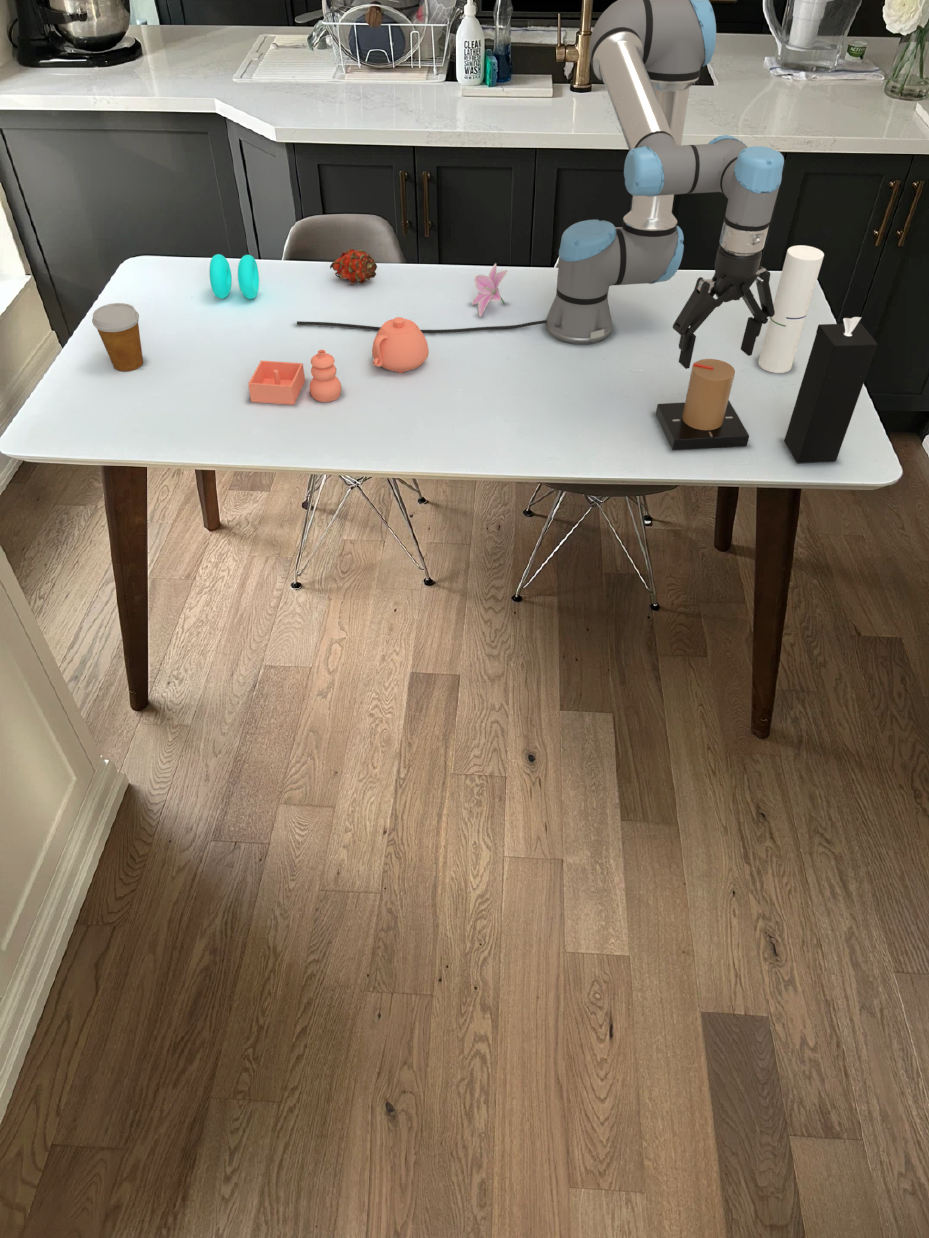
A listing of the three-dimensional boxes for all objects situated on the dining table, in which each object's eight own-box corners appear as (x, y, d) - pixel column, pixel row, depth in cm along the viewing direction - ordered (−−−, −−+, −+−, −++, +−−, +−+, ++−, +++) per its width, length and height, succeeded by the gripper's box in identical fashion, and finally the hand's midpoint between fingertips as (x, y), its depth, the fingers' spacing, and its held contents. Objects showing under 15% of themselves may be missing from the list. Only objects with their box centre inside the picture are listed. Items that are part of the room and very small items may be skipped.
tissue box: (783, 440, 182) (823, 307, 162) (821, 439, 182) (866, 305, 163) (796, 464, 176) (840, 328, 156) (836, 462, 177) (884, 326, 157)
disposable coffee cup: (159, 359, 202) (146, 307, 194) (131, 379, 196) (116, 327, 187) (125, 349, 205) (111, 298, 196) (96, 369, 199) (80, 317, 190)
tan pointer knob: (726, 413, 184) (739, 362, 176) (717, 434, 179) (730, 382, 171) (687, 404, 186) (698, 354, 178) (677, 424, 181) (688, 373, 173)
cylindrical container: (792, 374, 200) (825, 262, 182) (758, 371, 201) (788, 258, 183) (790, 358, 205) (822, 247, 187) (757, 355, 206) (786, 244, 188)
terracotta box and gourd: (251, 401, 190) (243, 358, 183) (263, 378, 197) (256, 335, 190) (336, 408, 189) (332, 365, 182) (346, 384, 195) (342, 341, 188)
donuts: (255, 306, 220) (248, 266, 213) (213, 306, 220) (205, 265, 213) (262, 287, 227) (255, 247, 220) (221, 287, 227) (214, 247, 220)
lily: (476, 296, 227) (461, 268, 219) (521, 281, 223) (507, 252, 215) (477, 332, 222) (460, 305, 214) (522, 318, 217) (508, 289, 210)
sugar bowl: (440, 362, 202) (439, 319, 195) (394, 386, 195) (392, 342, 188) (401, 343, 208) (399, 300, 201) (355, 366, 201) (351, 322, 194)
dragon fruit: (381, 291, 230) (336, 294, 232) (383, 259, 231) (338, 263, 234) (371, 273, 222) (324, 276, 224) (373, 240, 223) (326, 244, 226)
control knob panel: (672, 450, 179) (674, 439, 177) (655, 414, 188) (657, 403, 186) (746, 446, 180) (749, 435, 178) (726, 410, 189) (729, 399, 188)
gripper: (689, 268, 153) (667, 380, 168) (814, 246, 159) (782, 356, 174) (666, 249, 157) (647, 360, 173) (788, 229, 164) (760, 337, 179)
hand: (715, 358), depth 173 cm, fingers open, 13 cm apart
